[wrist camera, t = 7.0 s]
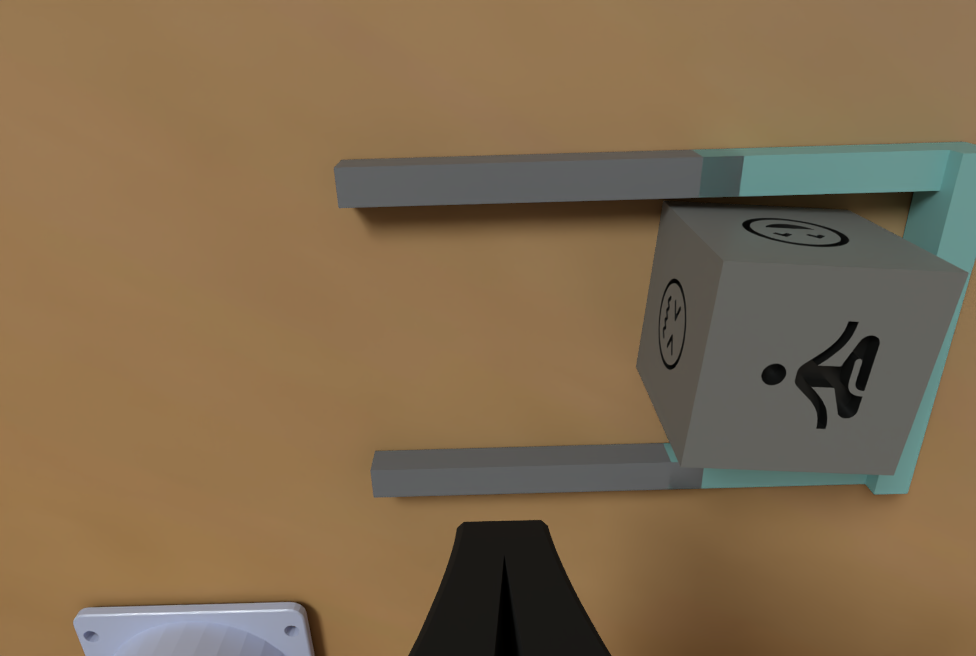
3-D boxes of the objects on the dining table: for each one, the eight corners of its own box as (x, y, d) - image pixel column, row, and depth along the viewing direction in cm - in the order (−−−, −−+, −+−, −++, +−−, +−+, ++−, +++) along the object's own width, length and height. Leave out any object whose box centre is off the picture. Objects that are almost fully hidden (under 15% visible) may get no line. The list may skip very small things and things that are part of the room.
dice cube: (800, 372, 20) (893, 475, 16) (635, 365, 20) (680, 467, 16) (846, 209, 18) (968, 272, 14) (662, 199, 18) (723, 260, 13)
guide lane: (880, 463, 21) (907, 493, 20) (378, 477, 22) (371, 508, 20) (964, 142, 17) (1005, 152, 16) (341, 160, 17) (329, 171, 16)
